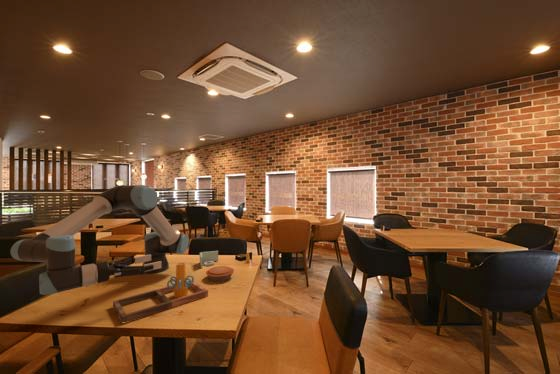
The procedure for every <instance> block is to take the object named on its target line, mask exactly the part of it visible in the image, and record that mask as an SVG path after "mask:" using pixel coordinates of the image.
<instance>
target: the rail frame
mask: <svg viewBox="0 0 560 374" xmlns="http://www.w3.org/2000/svg"><path fill="white" fill-rule="evenodd" d="M191 281H192V279H191ZM187 282H188V283H190V281H189V280H187ZM187 285H188V286H189V285H190V284H187ZM169 286H170V287H173V286H174V285H172V284H171V285H169ZM190 288H191V289H193V290H194V291H196V292H194V293H191V294H188V295H187V296H184V297H181V298H174V299H170V298H168V297H167V296H166V294H168V293H171V292H174V288H172V289H170V288H168V287H167V286H165V287H161V288H158V289H152V290H148V291H146V292H141V293H138V294H134V295H131V296H130V295H129V296H127V297H123V298H120V299H116V300H113V301H112V307H114V308H113V309H115V310H114V312H115V313H116V312H117V313H116V314H118V315H117V316H119V317H120V318H119V317H118V318H119V320H120V319H121V320H120V322H121V321H122V322H127V321H130V322H132V321H131V320H133V321H135V320H134V319H136V320H139V319H142V318H144V317H148V316H151V315H154V314H157V313H161V312H162V311H166V310H170V309H171V308H175V307H178V306H181V305H185V304H187V303H190V302H194V301H197V300H200V299H203V298H205V297H208V296H209V290H208V289H207V288H205V287H204V286H201V285H200V284H198V283H197V282H195V281H193V282H192V285H191V287H190ZM155 297H156V299H158V300H159V301H160V302H161V303H158V304H156V305H152V306H148V307H145V308H142V309H139V310H136V311H133V312H129V313H126V312H125V310H124V308H123V306H126V304H127V305H130V304H133V302H134V303H137V302H141V301H144V300H147V299H151V298H155ZM141 317H142V318H141ZM138 318H139V319H138ZM122 322H121V323H122ZM127 323H128V322H127Z"/></svg>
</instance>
